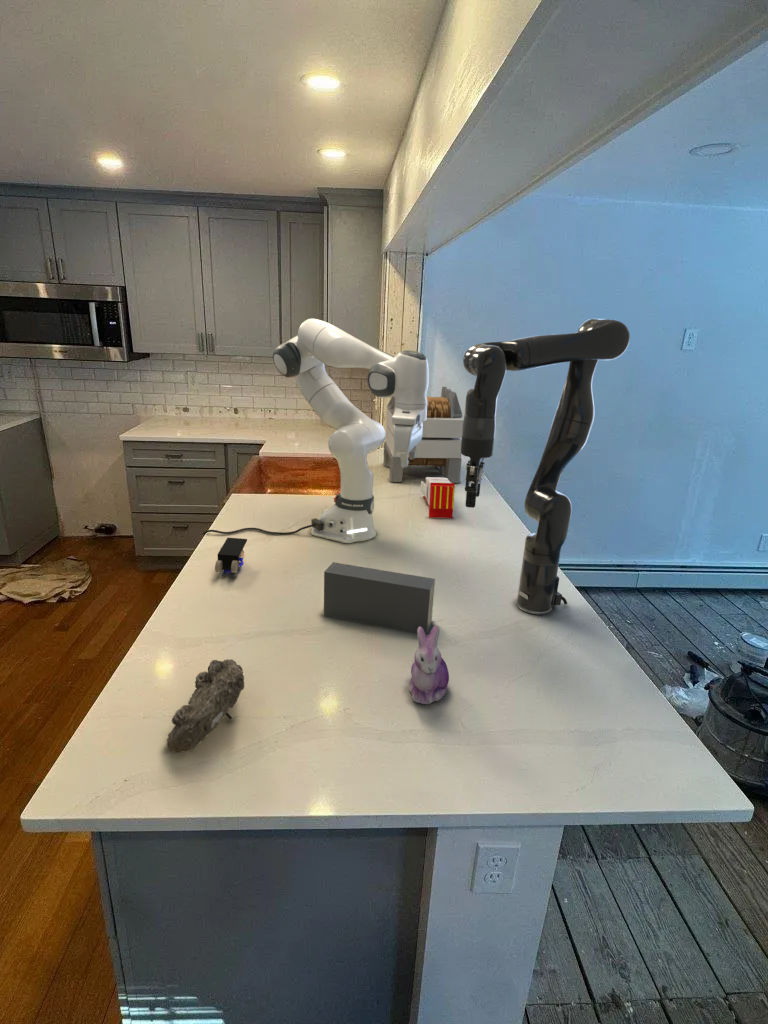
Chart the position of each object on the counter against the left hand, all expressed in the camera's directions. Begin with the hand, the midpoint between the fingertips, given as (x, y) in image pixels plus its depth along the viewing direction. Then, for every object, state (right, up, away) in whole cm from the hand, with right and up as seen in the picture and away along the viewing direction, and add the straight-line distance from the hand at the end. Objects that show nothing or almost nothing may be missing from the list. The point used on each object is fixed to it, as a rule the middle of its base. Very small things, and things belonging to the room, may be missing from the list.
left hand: (408, 462), depth 158 cm
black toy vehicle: (-52, -31, +9) cm, 61 cm away
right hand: (+14, -11, -22) cm, 29 cm away
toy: (+14, -12, +71) cm, 73 cm away
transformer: (+10, +5, +117) cm, 117 cm away
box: (-8, -41, -13) cm, 44 cm away
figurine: (+2, -51, -41) cm, 65 cm away
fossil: (-40, -53, -50) cm, 83 cm away
